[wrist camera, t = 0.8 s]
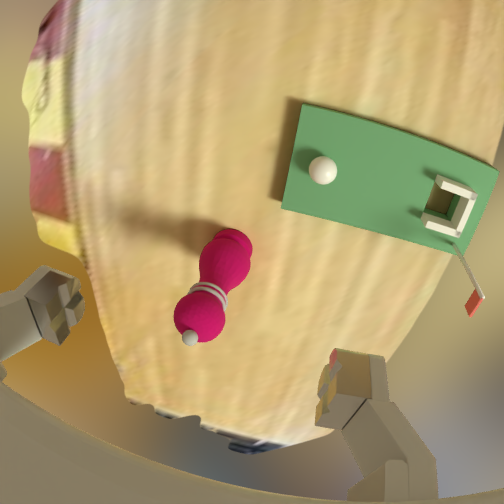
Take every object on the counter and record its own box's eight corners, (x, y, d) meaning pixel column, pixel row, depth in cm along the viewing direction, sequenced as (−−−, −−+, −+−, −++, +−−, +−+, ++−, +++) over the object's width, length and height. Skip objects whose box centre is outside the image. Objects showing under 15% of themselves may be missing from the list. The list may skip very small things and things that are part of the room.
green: (303, 103, 37) (294, 119, 25) (493, 167, 34) (545, 210, 23) (280, 212, 45) (263, 269, 34) (454, 257, 43) (484, 319, 31)
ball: (312, 150, 38) (311, 157, 35) (339, 156, 37) (341, 164, 35) (306, 175, 40) (305, 184, 37) (332, 181, 39) (333, 191, 36)
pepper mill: (221, 217, 47) (167, 307, 31) (264, 241, 48) (231, 342, 32) (202, 251, 51) (149, 343, 35) (242, 273, 52) (204, 372, 36)
